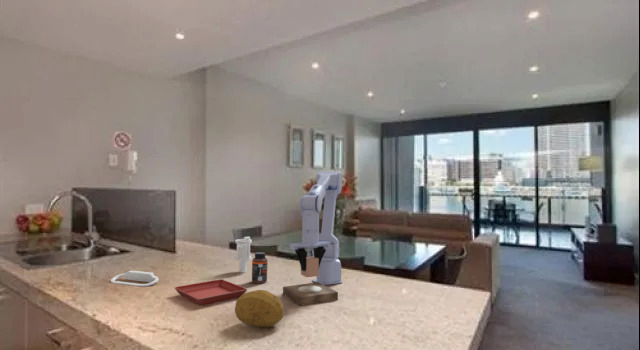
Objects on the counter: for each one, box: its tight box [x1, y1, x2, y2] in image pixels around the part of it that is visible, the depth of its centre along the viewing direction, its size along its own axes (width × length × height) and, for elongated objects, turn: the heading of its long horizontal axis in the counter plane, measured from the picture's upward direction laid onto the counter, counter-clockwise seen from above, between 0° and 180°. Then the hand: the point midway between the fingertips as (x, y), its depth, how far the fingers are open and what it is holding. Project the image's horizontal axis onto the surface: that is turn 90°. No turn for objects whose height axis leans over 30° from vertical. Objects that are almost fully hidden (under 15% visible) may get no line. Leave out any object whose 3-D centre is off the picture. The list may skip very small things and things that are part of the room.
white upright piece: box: [234, 236, 253, 274], centre depth 160 cm, size 7×7×15 cm
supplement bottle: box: [251, 251, 268, 284], centre depth 144 cm, size 6×6×11 cm
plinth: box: [282, 282, 339, 306], centre depth 125 cm, size 14×14×3 cm
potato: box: [234, 289, 285, 329], centre depth 99 cm, size 10×13×9 cm
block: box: [300, 255, 319, 278], centre depth 126 cm, size 4×4×6 cm
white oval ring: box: [110, 270, 160, 288], centre depth 141 cm, size 20×8×4 cm, turn 72°
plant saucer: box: [174, 278, 248, 307], centre depth 124 cm, size 18×18×3 cm
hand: (310, 269), depth 126 cm, fingers closed on block, 4 cm apart
